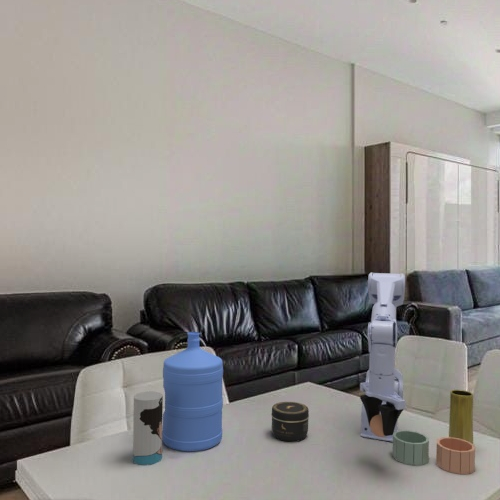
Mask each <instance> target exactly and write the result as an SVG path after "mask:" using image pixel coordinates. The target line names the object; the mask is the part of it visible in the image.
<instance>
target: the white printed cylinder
mask: <svg viewBox="0 0 500 500" xmlns="http://www.w3.org/2000/svg"><path fill="white" fill-rule="evenodd" d="M163 396H164V395H163V393H161V392H158V391H151V390H150V391H141V392H138V393H136V394H134V396H133V430H132V431H133V435H132V437H133V441H132V443H133V446H132V448H133V449H132V461H133V463H135V464H137V465H141V466H148V465H149V466H150V465H154V464H156V463H159V462H161V460H162V458H163V440H162V431H163V413H164V412H163V408H164V407H163V402H164V401H163V399H164V398H163Z"/></svg>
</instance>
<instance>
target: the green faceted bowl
mask: <svg viewBox="0 0 500 500" xmlns="http://www.w3.org/2000/svg"><path fill="white" fill-rule="evenodd" d="M399 430H400V429H399ZM392 457H393V458H394V459H395V460H396V461H398V462H400V463H402V464H404V465H405V464H406V465H411V466H424V465H426V464H428V463H429V458H430V437H428V436H427V435H426V434H424V433H422V432H419V431H416V430H415V431H414V430H407V429H403V430H402V429H401V430H400V431H396V432H394V434H393V442H392Z"/></svg>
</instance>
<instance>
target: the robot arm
mask: <svg viewBox="0 0 500 500" xmlns="http://www.w3.org/2000/svg"><path fill="white" fill-rule="evenodd" d="M405 292H406V275H405V274H404V273H403V272H402V273H388V272H387V273H386V272H384V273H383V272H381V273H380V272H372V271H371V272H370V273H369V274H368V280H367V293H368V299H369V303H370V304H372V305H373V306H372V309H371V310H372V311H371V318H370V321H369V322H368V325H367V343H368V353H369V365H368V367H369V368H368V370H367V372H366V375H365V376H366V377H365V382H360V383H359V391H360V392H362V393H363V392H364V394H362V395H360V396H359V399H360V401H361V402H362V404H361V405H362V406H361V411H360V412H361V414H360V417H361V419H360V421H361V422H360V437H363V438H369V439H373V440H380V441H385V442H386V441H387V442H391V443H393V434H394V432H396V431H400V429H398V424H399V423H398V419H399V417H400V416H401V414H402V413H403V411H404V410H405V409H406V400H405V399H404V376H403V374H402V372H401V371H400V370H399V369H398V368H396V367H395V365H396V363H395V362H396V360H395V359H396V347H397V343H398V324H397V307H400V306H402V305H403V304H404V301H405V294H406V293H405ZM394 343H395V344H394ZM379 414H381V416H382V423H383V433H384V435H385V436H386V437H378V436H376V435H374V434H373V432H372V431H371V429H370V421H371V419H372V418H373V417H374V416H375V415H379Z"/></svg>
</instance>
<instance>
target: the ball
mask: <svg viewBox="0 0 500 500" xmlns="http://www.w3.org/2000/svg"><path fill="white" fill-rule="evenodd" d="M370 429H371V431H372V432H373V434H374V435H376V436H378V437H386V436H385V435H384V433H383V423H382V416H381V414H379V415H375V416H374V417H373V418H372V419H371V421H370Z"/></svg>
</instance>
